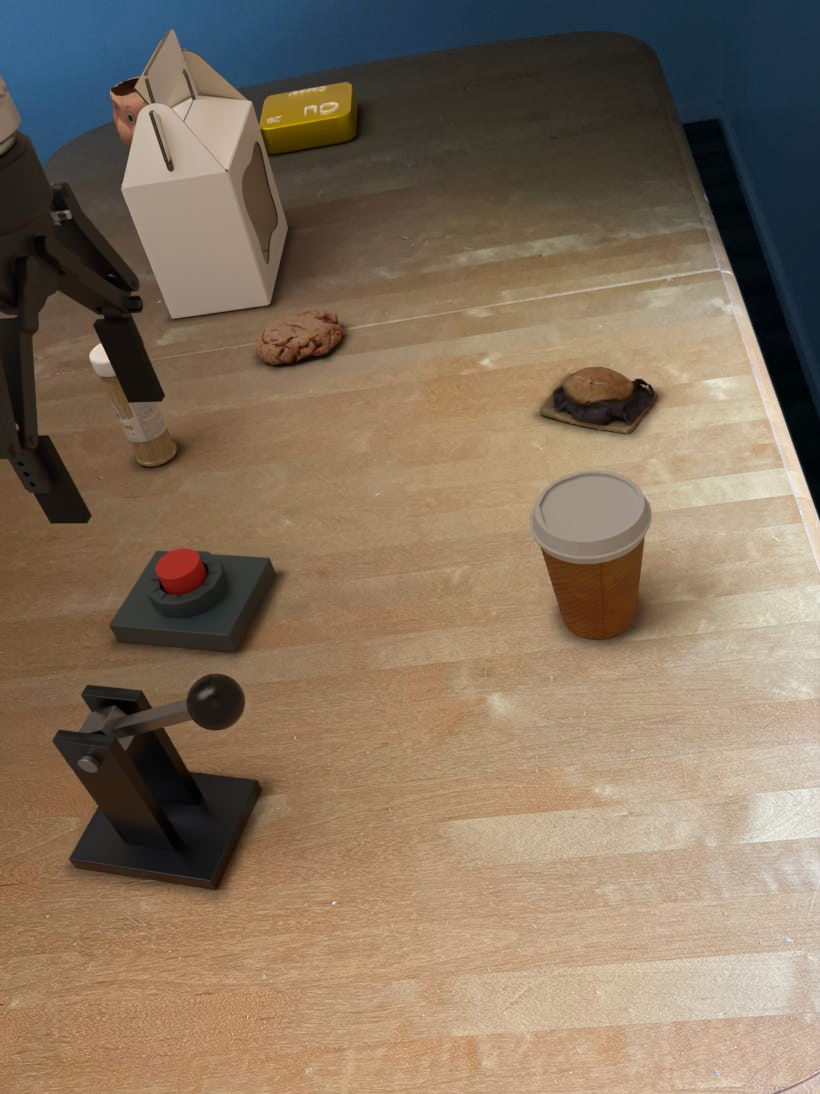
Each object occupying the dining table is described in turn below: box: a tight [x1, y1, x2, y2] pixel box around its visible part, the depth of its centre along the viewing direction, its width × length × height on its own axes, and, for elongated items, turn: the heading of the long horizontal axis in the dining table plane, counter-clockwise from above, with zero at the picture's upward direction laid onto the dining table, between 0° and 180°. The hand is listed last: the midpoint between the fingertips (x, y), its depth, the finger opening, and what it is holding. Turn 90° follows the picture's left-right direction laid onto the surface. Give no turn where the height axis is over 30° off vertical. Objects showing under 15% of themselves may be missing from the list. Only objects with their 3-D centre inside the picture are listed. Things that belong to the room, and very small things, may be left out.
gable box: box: [120, 28, 289, 320], centre depth 134 cm, size 22×13×28 cm, turn 1°
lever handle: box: [78, 673, 246, 751], centre depth 70 cm, size 14×4×4 cm, turn 76°
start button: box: [156, 547, 207, 595], centre depth 95 cm, size 4×4×2 cm
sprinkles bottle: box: [88, 342, 178, 468], centre depth 111 cm, size 5×5×13 cm
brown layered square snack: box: [538, 366, 658, 435], centre depth 109 cm, size 11×8×4 cm
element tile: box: [258, 81, 358, 156], centre depth 173 cm, size 15×15×5 cm
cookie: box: [256, 308, 344, 366], centre depth 127 cm, size 10×11×3 cm
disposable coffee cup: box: [529, 469, 653, 640], centre depth 86 cm, size 10×10×12 cm
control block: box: [108, 550, 277, 653], centre depth 97 cm, size 12×10×4 cm
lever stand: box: [51, 684, 262, 890], centre depth 76 cm, size 12×9×14 cm
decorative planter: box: [109, 75, 147, 151], centre depth 167 cm, size 20×12×14 cm, turn 12°
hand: (111, 456), depth 74 cm, fingers open, 13 cm apart
